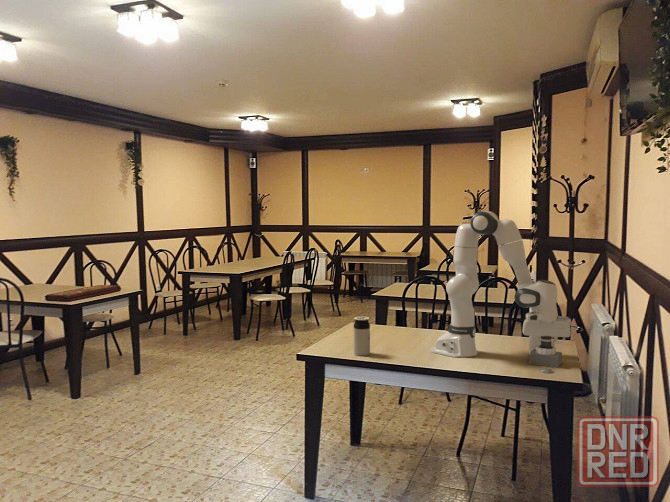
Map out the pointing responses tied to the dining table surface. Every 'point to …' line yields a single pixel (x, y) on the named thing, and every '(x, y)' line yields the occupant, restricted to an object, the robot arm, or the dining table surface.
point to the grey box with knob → (546, 357)
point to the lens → (546, 342)
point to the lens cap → (545, 370)
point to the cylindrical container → (532, 338)
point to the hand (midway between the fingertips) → (545, 345)
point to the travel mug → (361, 336)
